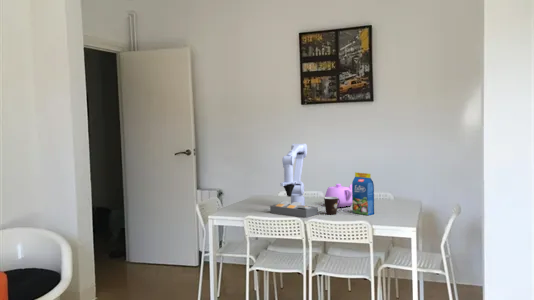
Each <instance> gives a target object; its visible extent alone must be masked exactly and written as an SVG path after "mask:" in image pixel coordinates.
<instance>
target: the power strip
mask: <svg viewBox="0 0 534 300" xmlns="http://www.w3.org/2000/svg"><path fill="white" fill-rule="evenodd" d="M277 204H278V203H277ZM277 204H272V205H270V206H269V208H270V209H269V211H270V214H275V213H276V215H283V216H285V215H286V216H291V217H299V218H306V219H308V218H310V217H313V216H317V215H319V207H318V206H313V205H312V206H310V205H307V206H308V207H312V208H310V209H304V208H297V207H296V208H287V207H288V206H289V205H290V204H291V203H290V204H288V205H287V206H283V207H278V206H276V205H277ZM300 206H303V205H300Z"/></svg>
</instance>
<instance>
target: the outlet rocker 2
mask: <svg viewBox="0 0 534 300" xmlns="http://www.w3.org/2000/svg"><path fill="white" fill-rule="evenodd" d="M299 205H301V203H300V202H293V203H292V204H291V203H290V205H289V206H288V207H287V208H296V207H297V206H299Z"/></svg>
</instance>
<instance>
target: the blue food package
mask: <svg viewBox="0 0 534 300" xmlns="http://www.w3.org/2000/svg"><path fill="white" fill-rule="evenodd" d="M351 184H352V205H351V207H352V210H351V211H352V213H353V214H357V215H362V216H371V215H375V185H374V181H373V180H372V178H371V173H367V172H365V173H364V172H356V171H355V172H354V178H353V180H352V183H351Z"/></svg>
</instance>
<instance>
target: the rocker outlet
mask: <svg viewBox="0 0 534 300" xmlns="http://www.w3.org/2000/svg"><path fill="white" fill-rule="evenodd" d="M308 206H309V205H305V206H300V205H299V206H297V208H304V209H310V208H312V207H313V206H312V207H308Z"/></svg>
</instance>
